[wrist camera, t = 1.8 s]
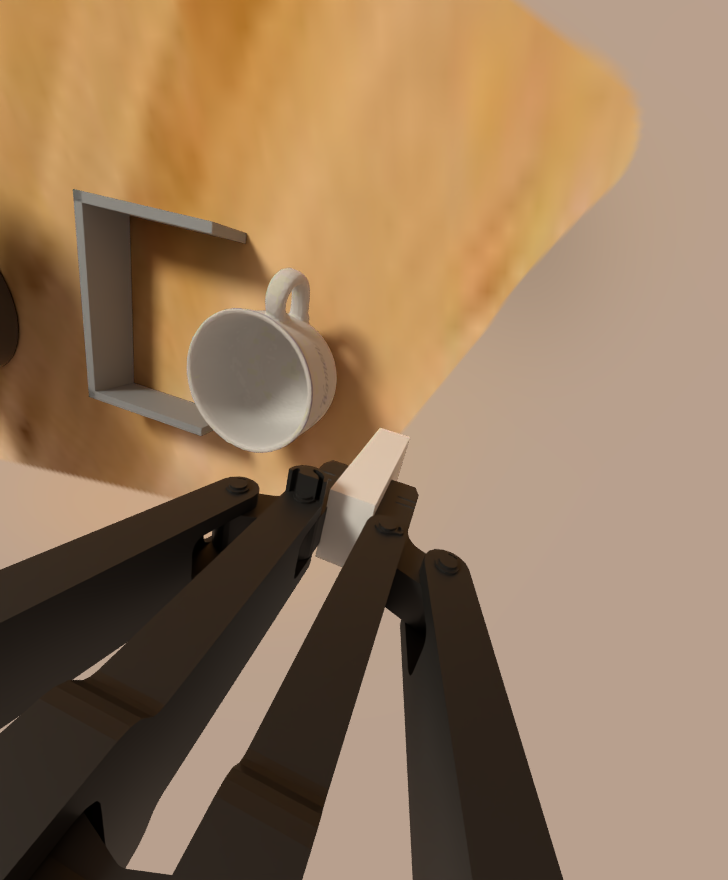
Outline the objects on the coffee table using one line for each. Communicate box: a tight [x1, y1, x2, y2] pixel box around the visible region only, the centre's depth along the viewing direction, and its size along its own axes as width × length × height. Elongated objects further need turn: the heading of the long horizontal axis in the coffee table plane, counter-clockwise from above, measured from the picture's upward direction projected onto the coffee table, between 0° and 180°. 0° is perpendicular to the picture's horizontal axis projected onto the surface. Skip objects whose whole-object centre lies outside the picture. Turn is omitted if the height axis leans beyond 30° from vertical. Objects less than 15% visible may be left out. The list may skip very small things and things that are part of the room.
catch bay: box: [73, 189, 247, 436], centre depth 33 cm, size 13×18×4 cm
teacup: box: [187, 268, 337, 453], centre depth 30 cm, size 14×11×8 cm
